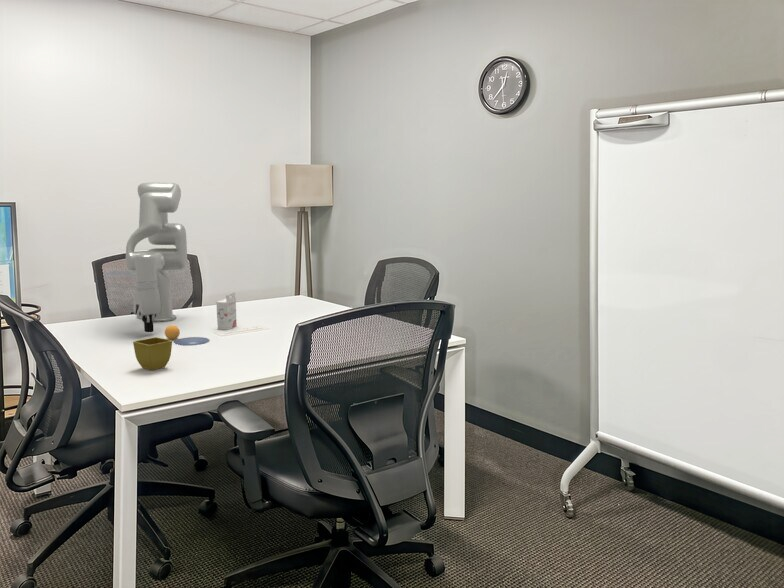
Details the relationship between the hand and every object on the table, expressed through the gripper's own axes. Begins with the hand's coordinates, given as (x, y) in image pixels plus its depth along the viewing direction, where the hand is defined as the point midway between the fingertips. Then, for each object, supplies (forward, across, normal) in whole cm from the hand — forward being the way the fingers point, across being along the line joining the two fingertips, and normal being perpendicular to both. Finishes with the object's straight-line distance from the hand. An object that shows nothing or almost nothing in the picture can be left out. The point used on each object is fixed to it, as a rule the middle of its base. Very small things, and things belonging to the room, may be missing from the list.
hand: (149, 331), depth 250 cm
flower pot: (+2, +34, +38) cm, 51 cm away
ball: (-1, +1, +13) cm, 13 cm away
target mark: (+2, 0, +22) cm, 22 cm away
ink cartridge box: (+2, -26, +17) cm, 31 cm away
